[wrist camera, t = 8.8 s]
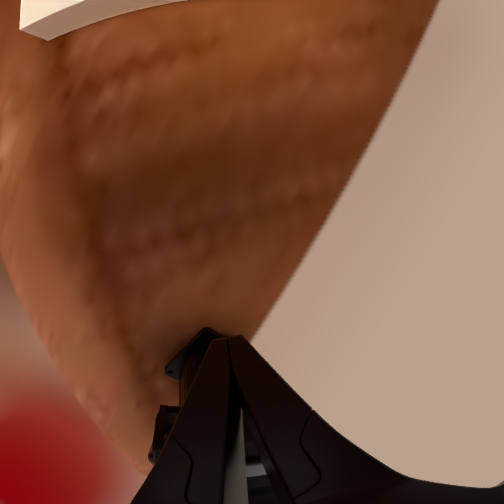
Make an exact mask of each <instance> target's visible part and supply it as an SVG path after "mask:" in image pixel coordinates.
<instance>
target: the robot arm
mask: <svg viewBox="0 0 504 504" xmlns="http://www.w3.org/2000/svg"><path fill="white" fill-rule="evenodd" d="M205 334H209V335H205ZM170 370H172V371H170ZM165 373H166V374H167V375H169V376H171V377H173V378H175V379H177V380H179V406H167V405H160V409H159V413H157V418H156V421H155V431H154V437H153V442H152V445H151V448H150V451H149V453H148V459H149V462H151V463H152V464H153V465H154V466H153V468H152V470H151V471H150V473H149V475H148V476H147V478H146V480H145V481H144V483H143V485H142V486H141V488H140V489H139V491H138V493H137V494H136V495H135V497H134V498H133V500H132V501H131V503H130V504H504V481H503V482H501V483H500V484H499V485H497V486H496V487H492V488H474V487H465V486H456V485H449V484H441V483H435V482H429V481H423V480H419V479H414V478H411V477H408V476H405V475H403V474H401V473H398V472H396V471H395V470H393V469H391V468H390V467H388V466H386V465H385V464H383V463H382V462H380V461H379V460H377V459H375V458H374V457H373V456H371V455H369V454H368V453H366V452H365V451H364V450H362V449H361V448H359V447H358V446H356V445H355V444H353V443H352V442H350V441H349V440H348V439H346V438H345V437H344V436H342V435H341V434H340V433H339V432H337V431H336V430H335V429H334V428H333V427H331V426H330V425H329V424H328V423H327V422H326V421H325V420H324V419H322V417H321V416H320V415H319V414H318V413H316V411H315V410H312V408H311V407H310V406H309V405H308V404H307V403H306V402H305V401H304V400H303V399H302V398H301V397H300V396H299V395H298V394H297V393H296V392H295V391H294V390H293V389H292V388H291V387H290V385H288V383H286V381H284V379H283V378H282V377H281V376H280V375H279V374H278V373H277V372H276V371H275V370H274V369H273V368H272V367H271V366H270V365H269V364H268V362H267V361H266V360H265V359H264V358H263V357H262V356H261V355H260V354H259V353H258V352H257V351H256V350H255V348H254V347H253V346H252V345H251V344H250V343H249V342H248V341H247V340H246V339H245V338H244V336H242V335H236V336H230V337H228V338H226V337H224V336H222V335H220V334H218V333H217V332H215V331H213V330H211V329H209V328H205V329H203V330H201V331H200V332H199V333H198V334H197V335H196V337H195V338H194V339H193V340H192V341H191V342H190V343H189V344H188V345H187V346H186V347H185V348H184V349H183V350H182V351H181V352H180V353H179V354H178V355H177V356H176V357H175V358H174V359H173V360H172V361H171V362H170V363H169V364H168V365H167V366H166V367H165Z"/></svg>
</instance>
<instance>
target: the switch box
mask: <svg viewBox="0 0 504 504" xmlns="http://www.w3.org/2000/svg"><path fill="white" fill-rule="evenodd" d="M180 1H186V0H21V11H20V30H21V31H24V32H26V33H29V34H32V35H34V36H37V37H40V38H42V39H45V40H47V41H49V40H51V39H54V38H56V37H58V36H61V35H63V34H65V33H68V32H70V31H73V30H76V29H78V28H81V27H84V26H86V25H89V24H92V23H95V22H98V21H101V20H104V19H107V18H111V17H114V16H117V15H121V14H125V13H128V12H132V11H136V10H140V9H144V8H149V7H153V6H158V5H163V4H168V3H174V2H180Z"/></svg>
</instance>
